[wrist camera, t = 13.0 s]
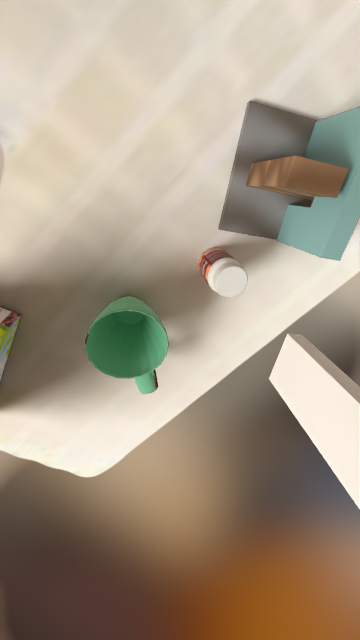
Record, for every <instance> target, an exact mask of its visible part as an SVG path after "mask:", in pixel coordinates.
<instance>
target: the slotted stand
mask: <svg viewBox="0 0 360 640" xmlns="http://www.w3.org/2000/svg"><path fill="white" fill-rule="evenodd" d="M316 122H317V121H316V120H313V119H309V118H306V117H302V116H299V115H296V114H292V113H289V112H286V111H282V110H279V109H276V108H272V107H269V106H266V105H262V104H259V103H256V102H252V101H250V102H248V103H247V108H246V112H245V116H244V121H243V125H242V129H241V134H240V138H239V142H238V147H237V151H236V155H235V160H234V164H233V168H232V172H231V177H230V181H229V185H228V190H227V194H226V198H225V203H224V207H223V211H222V216H221V220H220V224H219V229H220V230H225V231H230V232H236V233H242V234H248V235H253V236H259V237H265V238H271V239H277V238H278V235H279V232H280V229H281V226H282V223H283V220H284V217H285V214H286V210H287V207H288V205H294V206H302V207H309V208H311V205H312V202H313V200H314V197H315V196H317V197H332V198H337V197H338V194H339V192H340V189H341V187H342V185H343V182H344V180H345V177H346V175H347V172H348V170H349V169H346V168H342V167H339V166H335V165H331V164H327V163H323V162H319V161H315V160H312V159H308V158H304V156H305V153H306V150H307V147H308V144H309V141H310V138H311V135H312V132H313V129H314V126H315V123H316Z"/></svg>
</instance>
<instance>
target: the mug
mask: <svg viewBox="0 0 360 640" xmlns="http://www.w3.org/2000/svg"><path fill="white" fill-rule="evenodd" d="M87 334H88V335H87V337H86V341H85V351H86V354H87V356H88V359H89V360H90V362H91V363H92V364H93V365H94V366H95V368H97V369H98V370H100V371H101V372H103V373H104V374H106V375H110V376H113V377H116V378H128V379H130V378H135V381H136V383H137V386H138V388H139V390H140V392H141V393H142V394H148V393H152V392H154V391H155V390H156V389H157V388H158V382H157V377H156V371H155V368H157V367H158V366H159V365H160V364H161V363H162V361H163V359H164V358H165V356H166V354H167V349H168V345H169V344H168V338H167V332H166V329H165V328H164V326H163V324H162V323H161V321H160V319H159V318H158V316H157V315H156V313H155V312H154V311H153V310H152V309H151V308H150V307H149V306H148V305H147V304H146V303H144V302H143V301H142V300H140V299H138V298H135V297H132V296H126V297H121V298H119V299H117V300H115V301H113V302H111V303H110V304H109V305H108V306H107V307H106V308H105V309H104V310H103V311H102V312H101V313H100V314H99V315H98V317H97V318H96V319H95V320H94V321H93V322H92V323H91V325H90V328H89V330H88V332H87Z"/></svg>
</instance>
